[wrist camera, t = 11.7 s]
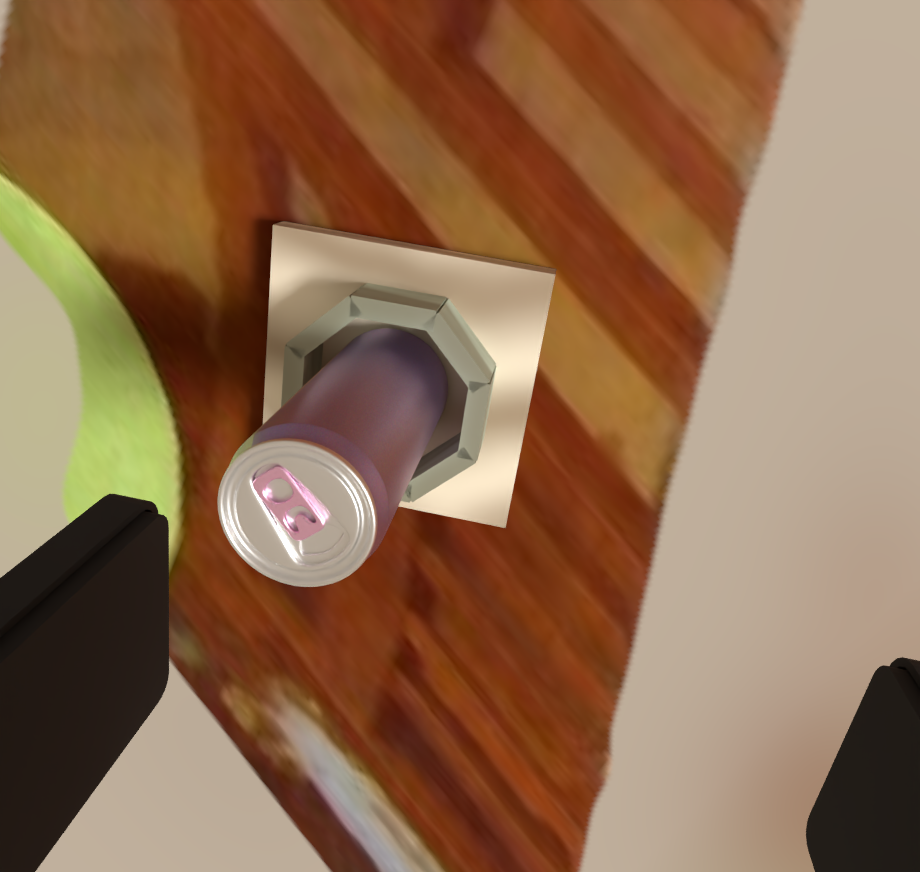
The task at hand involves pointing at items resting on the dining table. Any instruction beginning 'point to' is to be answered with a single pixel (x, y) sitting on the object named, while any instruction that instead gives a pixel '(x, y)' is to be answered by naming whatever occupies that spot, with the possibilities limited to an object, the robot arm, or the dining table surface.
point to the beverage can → (334, 461)
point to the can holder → (436, 323)
